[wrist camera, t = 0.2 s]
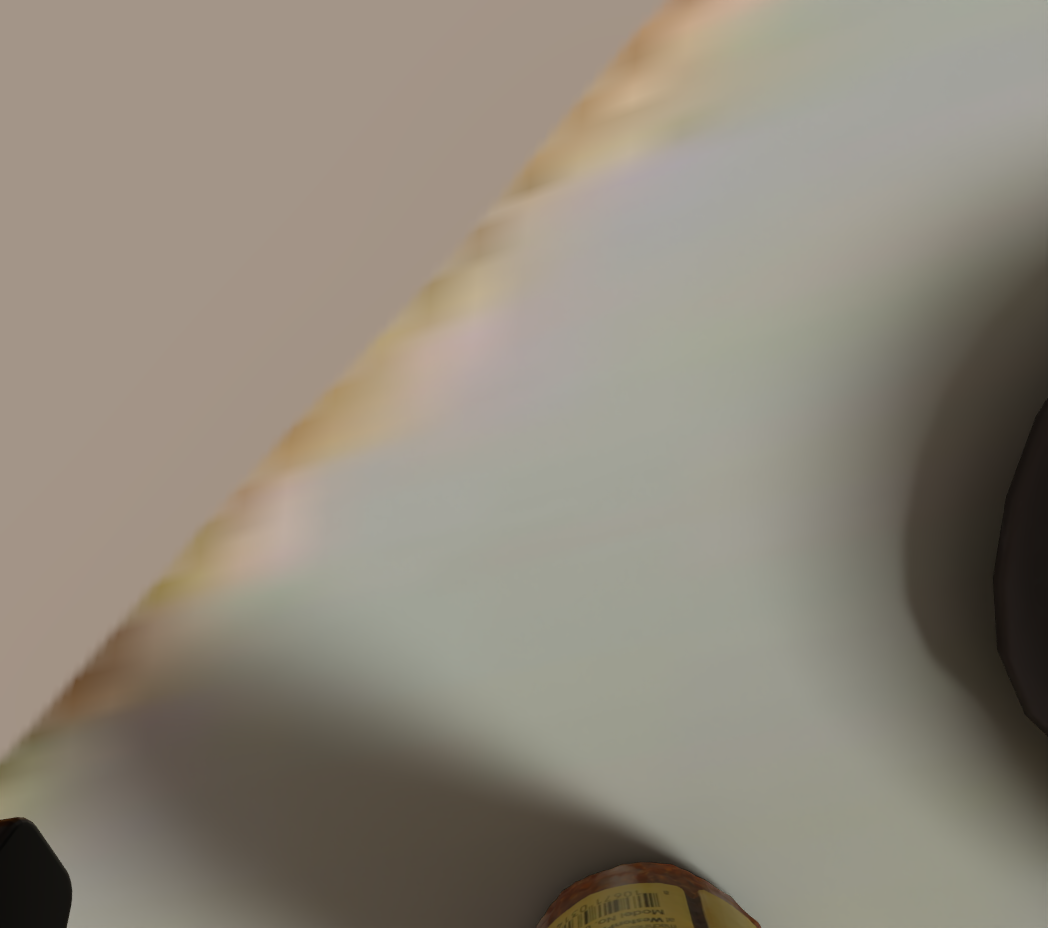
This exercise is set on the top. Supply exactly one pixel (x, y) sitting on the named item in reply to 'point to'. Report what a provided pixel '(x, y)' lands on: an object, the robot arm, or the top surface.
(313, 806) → the top surface
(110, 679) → the top surface
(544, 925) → the sauce bottle
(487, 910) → the top surface
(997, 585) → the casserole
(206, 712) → the top surface
